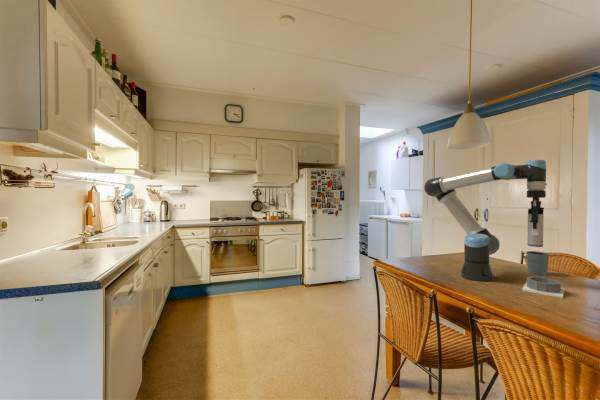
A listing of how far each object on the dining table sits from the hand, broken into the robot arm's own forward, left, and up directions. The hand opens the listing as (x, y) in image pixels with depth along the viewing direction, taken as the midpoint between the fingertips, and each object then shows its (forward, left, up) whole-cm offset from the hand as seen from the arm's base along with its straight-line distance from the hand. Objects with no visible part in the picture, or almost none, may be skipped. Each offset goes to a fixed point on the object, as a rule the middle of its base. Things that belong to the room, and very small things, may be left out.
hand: (535, 234), depth 145 cm
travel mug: (0, 0, -6) cm, 6 cm away
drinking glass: (-1, +23, -25) cm, 34 cm away
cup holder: (+4, -14, -25) cm, 29 cm away
